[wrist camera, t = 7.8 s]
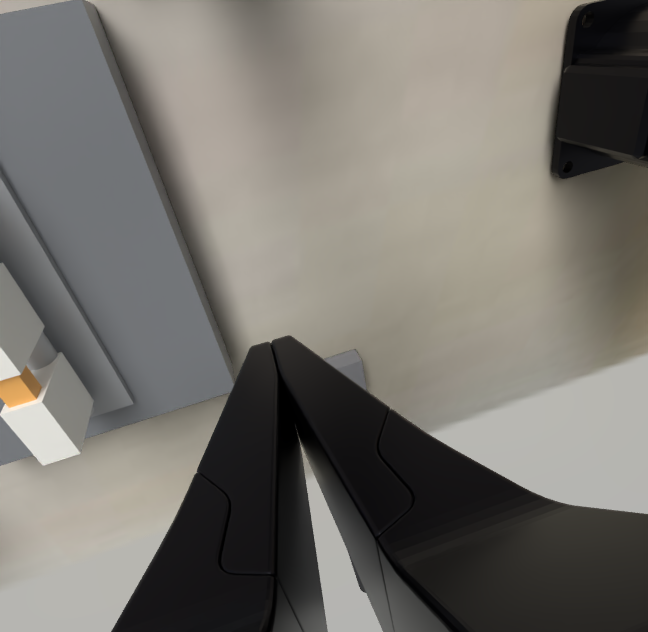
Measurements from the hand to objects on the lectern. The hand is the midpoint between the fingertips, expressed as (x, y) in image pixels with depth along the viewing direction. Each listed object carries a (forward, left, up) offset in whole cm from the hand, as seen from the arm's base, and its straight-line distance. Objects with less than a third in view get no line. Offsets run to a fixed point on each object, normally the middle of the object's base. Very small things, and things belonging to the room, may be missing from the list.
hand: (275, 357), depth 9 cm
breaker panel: (+8, 0, -10) cm, 12 cm away
